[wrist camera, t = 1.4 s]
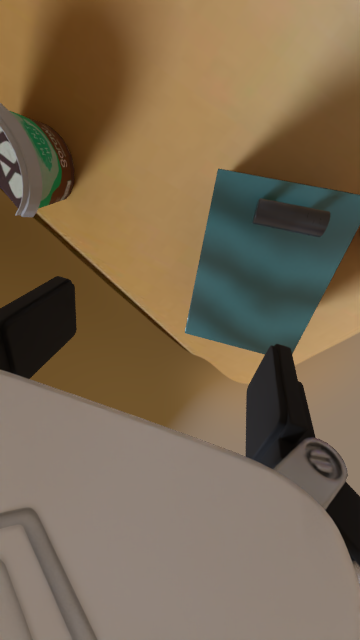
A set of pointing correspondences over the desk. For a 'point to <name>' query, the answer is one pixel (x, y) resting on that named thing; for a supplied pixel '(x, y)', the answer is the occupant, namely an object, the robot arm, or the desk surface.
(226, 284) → the sorter lid
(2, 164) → the food container
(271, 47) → the desk surface
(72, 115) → the desk surface
